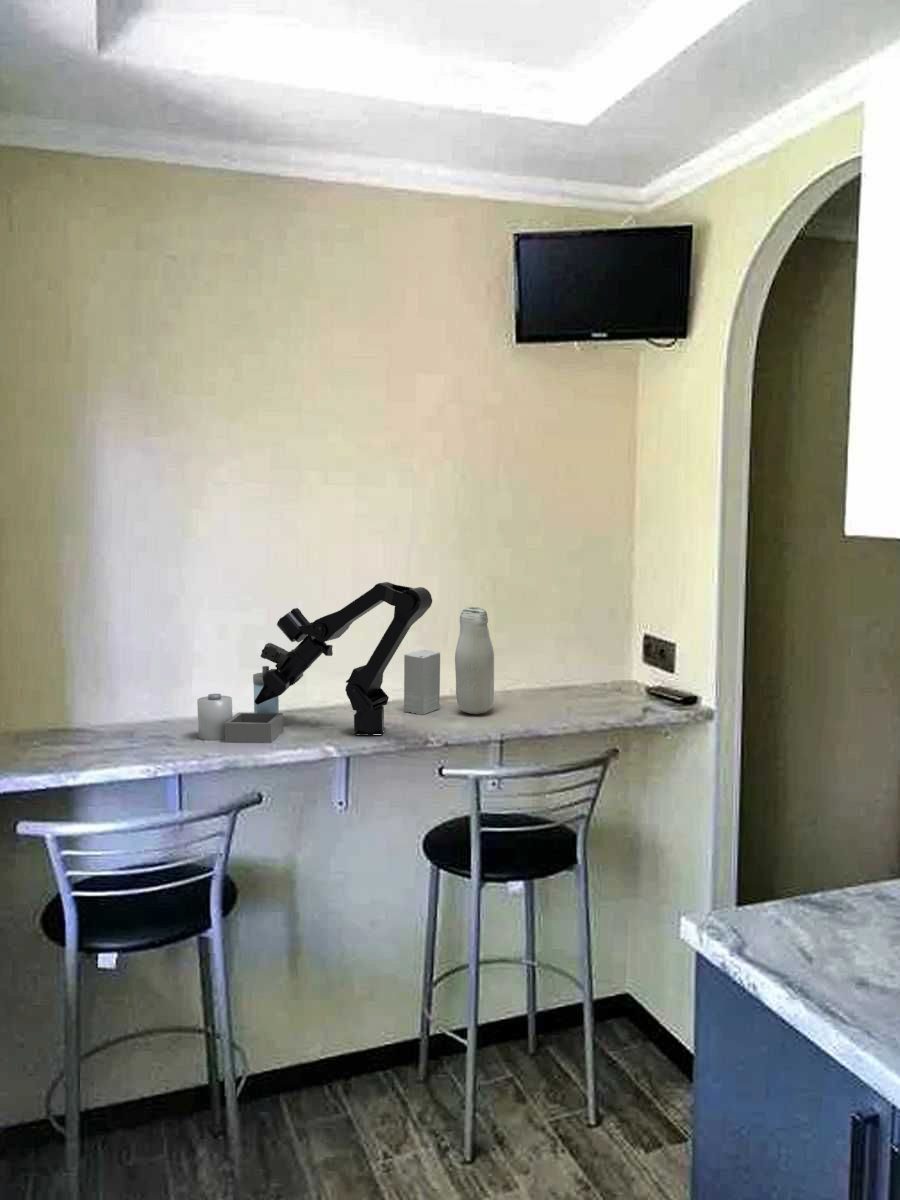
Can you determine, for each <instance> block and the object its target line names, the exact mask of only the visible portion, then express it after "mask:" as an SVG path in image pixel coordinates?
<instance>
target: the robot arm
mask: <svg viewBox="0 0 900 1200" xmlns="http://www.w3.org/2000/svg"><path fill="white" fill-rule="evenodd" d="M431 594H432V593H431V592H430V591H429V590H428V589H427V588H425V587H422V586H420V587H410V586H405V585H400V584H395V583H392V582H389V581H384V582H379V583H376V584H375V585H374V586H373V587H372V588H370V589H369V590H368V591H366V592H365V593H363V594H361V595H360V596H359V597H357V598H356V599H354V600H353V601H352V602H350V603H347V605H345V606H344V607H342V608H341V609H339V610H337V611H335V612H332V613H329V614H326V615H324V616H321V617H320V618H317V619H316V620H314V621H311V622H310V621H309V620H308V619H307V618H306V617H305V615H304V614H303V613H302V611H301V609H299V608H298V607H296V608H292V609H291V611H289V612H287V613H286V614H284V615H283V616H282V617H281V616H280V618H279V619H278V621H277V623H276V626H277V628H279V629H280V631H281V632H282V633H283V634H284V635H285V636H286V638H287V639H288V640H289V641H290V642H291V643H295V642H296V643H298V645H297V646H296V647H294V648H293V649H291V651H288V650H286V649H284V648H283V647H281V646H278V645H277V644H274V643H272V642H268V643H266V644H265V645H264V647H263V648H262V650H261V654H260V658H261V659H264V660H268V661H270V662H272V663H274V664H275V665H274V667H275V668H270V669H269V671H268V672H267V673H266V674H265V675H264V676H263V682H264V686H263V688H262V690H261V691H260V693H259V695H258V696H257V698H256V699H255V701H254V700H253V703H254V702H255V703H256V704H257V705H258V704H260V703H262V702H265V701H267V700H270V699H272V698H274V697H277V696H280V697H281V695H282V694H284V693H285V692H287V690H288V689H289V688H290V687H292V686H294V685H295V684H296V683H297V682H299V681H300V680H301V679H302V678H303V677H304V673H305V672H306V671H307V670H308V669H309V668H310V667H311V666H312V664H314V662H316V661H317V660H318V658H319V657H321V655H322V654H323V655H324V656H325V657H332V656H333V654H334V653H333V647H334V645H332V644H328V643H326V642H328V641H331V640H332V641H333V640H336V639H339V638H340V637H342V636H343V635H344V633H346V631H348V629H349V628H350V627H351V625H352V624H353V623H354V622H355V621H357V620H359V619H360V618H361V617H362V616H364V615H365V614H367V613H369V612H370V611H372V610H373V609H375V608H376V607H378V606H379V605H381V604H382V603H387V604H389V605H390V606H393V607H394V612H393V618H392V620H391V622H390V624H389V625H388V627H387V629H386V631H385V632H384V634H383V635H382V637H381V639H380V640H379V642H378V644H377V646H376V647H375V649H374V650H373V652H372V654H371V655H370V657H369V659H368V661H367V663H366V664H365V665H361V666H358V667H355V668H353V669H352V671H351V674H350V676H349V678H348V679H347V680H345V683H346V685H345V692H346V696H347V698H348V699H349V702H350V705H351V709H352V711H355V713H354V714H353V724H354V726H353V728H354V729H353V731H354V732H355V733H354V735H355V734H368V735H367V736H374V735H373V734H382V733H383V731H384V730H385V731H386V727H385V707H384V706H387V704H388V701H389V698H390V697H389V695H387V693H386V692H385V691H384V689H382V684H383V682H384V681H383V680H384V679H383V678H384V672H385V670H386V669H387V667H388V666H389V664H390V662H391V661H392V659H393V657H394V655H395V653H396V652H397V651H398V648H399V647H400V646H401V645H402V642H403V640H404V639H405V636H407V634H408V632H409V630H410V629H411V627H412V626H413V625H414V624H415V623H416V622H417V621H419V619H420V618H422V617H423V616H424V615H425V613H426V612H428V610H429V609H430V608H431V606H432V604H433V599H432V598H433V597H432V595H431ZM385 731H384V732H385ZM383 734H384V733H383ZM383 734H382V735H383Z"/></svg>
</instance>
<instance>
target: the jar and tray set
mask: <svg viewBox="0 0 900 1200" xmlns="http://www.w3.org/2000/svg"><path fill="white" fill-rule="evenodd" d="M197 725H198V726H197V729H198V733H197V734H198V739H200V740H202V739H204V740H203V741H220V739H222V740H224V742H225V743H248V742H272V741H273V740H274V739H275V738H276V737H277V736H278V735H279V734H280V735H281V734H282V733H283V732H284V713H282V712H279V713H254V712H238V713H236V714H234V715H233V697H232V696H228V695H222V694H221V693H210V694H208V695H207V696H202V697H199V698H198V699H197ZM280 735H279V736H280ZM279 736H278V737H279ZM278 737H277V738H278ZM277 738H276V739H277ZM276 739H275V740H276ZM275 740H274V741H275ZM274 741H273V742H274ZM273 742H272V743H273Z"/></svg>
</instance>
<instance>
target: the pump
mask: <svg viewBox="0 0 900 1200" xmlns="http://www.w3.org/2000/svg"><path fill="white" fill-rule="evenodd" d="M261 669H262V672H257V673H253V675H252V681H253V682H252V683H253V713H280V710H279V709H280V708H279V707H280V706H279V702H280V700H279V699H280V697H279V696H277V697H274V698H272V699H270V700H267V701H265V702H262V703H260V704H258V705H257V704H256V703H255V702H254V701H255V699H256V698H257V696H258V695H259V693H260V691H261V690H262V688H263V686H264V682H263V676H264V675H265V674H266V673H267V672H268V671H269V670H270V666H269V665H264V666H262V668H261Z"/></svg>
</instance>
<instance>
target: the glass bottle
mask: <svg viewBox="0 0 900 1200" xmlns="http://www.w3.org/2000/svg"><path fill="white" fill-rule="evenodd" d="M459 615H460V616H459V627H460V628H459V634H458V639H457V643H456V647H455V653H454V667H455V669H454V670H455V695H456V702H457V706H458V708H459V709H460V710H461V711H462V712H464V713H467V714H469V715H481V714H485V713H487V712H488V711H490V709H491V707H493V704H494V696H495V652H494V651H495V649H494V646H493V643H492V640H491V637H490V632H489V626H488V622H489V618H488V612H487V610H485V609H484V608H480V607H475V606H473V607H472V606H470V607H469V606H467V607H465V608H463V610H461V613H460V614H459Z"/></svg>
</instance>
